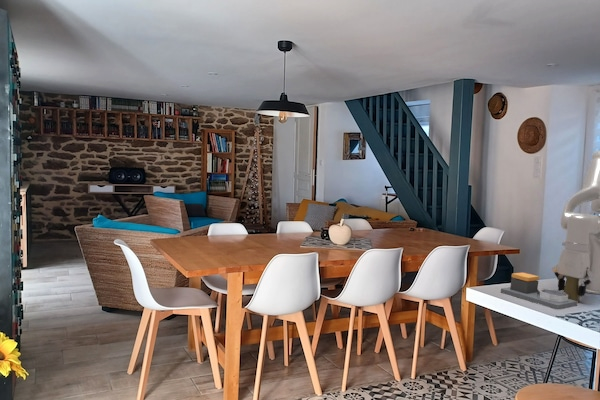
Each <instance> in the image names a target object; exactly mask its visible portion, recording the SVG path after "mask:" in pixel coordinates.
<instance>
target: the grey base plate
mask: <svg viewBox="0 0 600 400" xmlns="http://www.w3.org/2000/svg"><path fill="white" fill-rule="evenodd" d="M537 289H539V280H535V281H523V280H519V279H517V278H513V277H511V278H510V287H509V286H508V287H504V288H501V289H500V293H502V294H505V295H508V296H512V297H515V298H518V299H522V300H525V301H528V302H531V301H532V303H536V304H538V303H539V305H541V304H542V305H541V306H545V307H548V306H549V307H548V308H551V307H552V309H554V310H560V309H566V308H571V307H576V306H578V302H577V301H574V300H571V299H568V302H564V303H558V302H549V301H546V300H543V299H539V298H538V297H537Z"/></svg>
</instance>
